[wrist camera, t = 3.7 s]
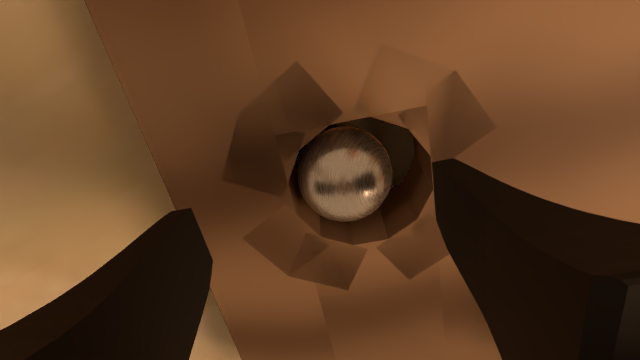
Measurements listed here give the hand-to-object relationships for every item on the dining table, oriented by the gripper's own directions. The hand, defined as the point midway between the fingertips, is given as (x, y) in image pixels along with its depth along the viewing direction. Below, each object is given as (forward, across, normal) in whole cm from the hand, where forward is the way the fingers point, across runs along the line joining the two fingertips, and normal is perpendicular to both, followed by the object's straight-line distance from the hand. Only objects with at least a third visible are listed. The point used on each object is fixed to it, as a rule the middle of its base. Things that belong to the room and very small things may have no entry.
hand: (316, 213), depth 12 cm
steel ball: (+2, -1, 0) cm, 2 cm away
